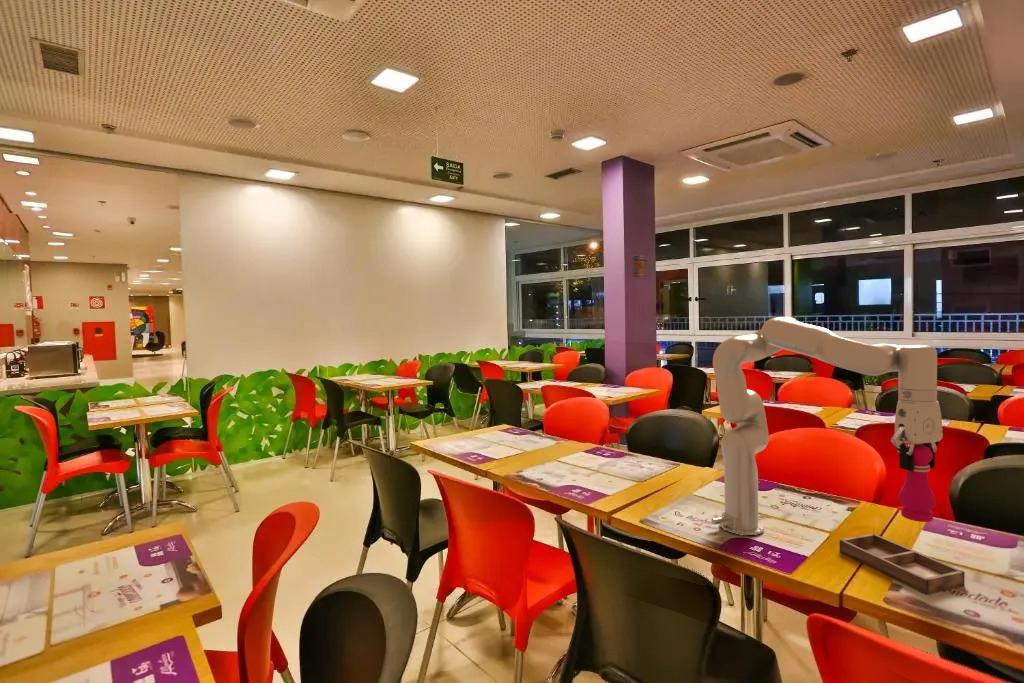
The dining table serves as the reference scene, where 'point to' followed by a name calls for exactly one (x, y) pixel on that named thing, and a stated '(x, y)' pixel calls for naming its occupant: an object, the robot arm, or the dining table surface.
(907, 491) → the pepper mill
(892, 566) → the caddy
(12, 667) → the dining table surface
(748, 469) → the robot arm
